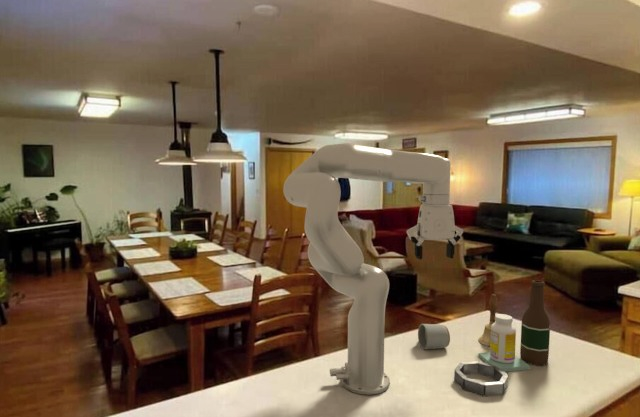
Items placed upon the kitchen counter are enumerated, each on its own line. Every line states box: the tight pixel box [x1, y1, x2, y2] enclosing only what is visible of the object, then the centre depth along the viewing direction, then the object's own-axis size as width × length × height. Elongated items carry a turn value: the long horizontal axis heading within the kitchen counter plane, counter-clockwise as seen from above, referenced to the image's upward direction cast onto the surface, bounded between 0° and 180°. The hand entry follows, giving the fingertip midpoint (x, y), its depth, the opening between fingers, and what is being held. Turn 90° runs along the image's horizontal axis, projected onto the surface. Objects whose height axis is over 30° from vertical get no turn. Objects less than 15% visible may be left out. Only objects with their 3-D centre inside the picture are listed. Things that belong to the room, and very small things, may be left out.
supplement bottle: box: [489, 313, 517, 363], centre depth 120 cm, size 7×7×13 cm
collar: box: [453, 360, 509, 398], centre depth 109 cm, size 12×12×3 cm
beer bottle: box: [519, 279, 551, 367], centre depth 121 cm, size 8×8×24 cm
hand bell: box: [478, 293, 499, 347], centre depth 134 cm, size 8×8×16 cm
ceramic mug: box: [417, 323, 451, 350], centre depth 132 cm, size 11×8×8 cm
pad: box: [477, 351, 531, 372], centre depth 121 cm, size 10×10×1 cm
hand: (434, 258), depth 122 cm, fingers open, 9 cm apart
